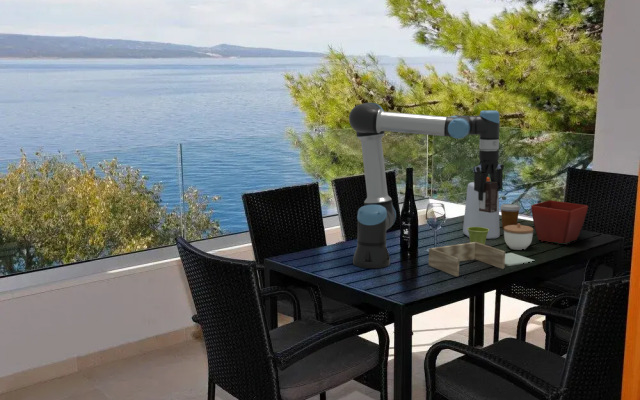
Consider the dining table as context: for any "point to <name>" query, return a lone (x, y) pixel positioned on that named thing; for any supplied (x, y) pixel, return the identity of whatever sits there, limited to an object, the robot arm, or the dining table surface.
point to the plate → (515, 259)
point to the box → (490, 197)
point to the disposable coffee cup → (509, 214)
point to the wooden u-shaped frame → (464, 256)
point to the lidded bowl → (518, 236)
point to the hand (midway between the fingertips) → (487, 207)
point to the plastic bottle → (480, 214)
